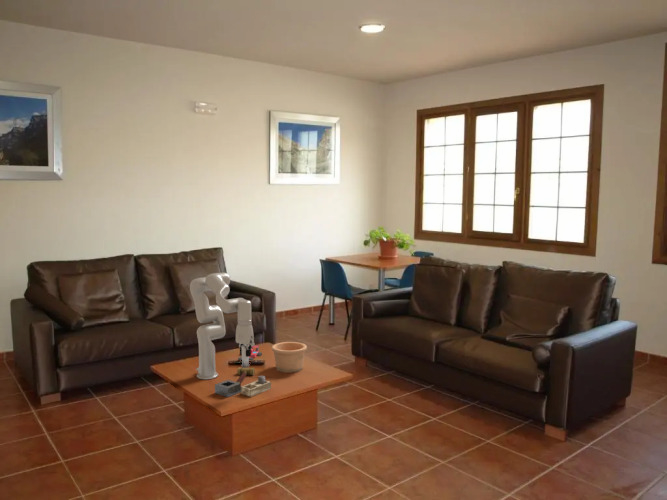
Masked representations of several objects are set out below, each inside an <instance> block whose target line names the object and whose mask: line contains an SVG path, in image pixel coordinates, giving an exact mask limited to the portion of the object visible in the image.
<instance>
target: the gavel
mask: <svg viewBox="0 0 667 500" xmlns="http://www.w3.org/2000/svg"><path fill="white" fill-rule="evenodd" d="M236 374H237V375H238V376H239V378H238V379H237V380H236V382H238V383H241V384H242V382H243V381H244V380H245V378H246V376H255V374H256V369H255V367H250V368H249V367H247V368H243V367H242V366H241V367H238V368H237V369H236Z"/></svg>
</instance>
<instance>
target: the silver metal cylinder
mask: <svg viewBox="0 0 667 500" xmlns="http://www.w3.org/2000/svg"><path fill="white" fill-rule="evenodd" d="M248 347H249V345H248ZM246 350H247V348H246V345H245V344H244V345H241V351H242V355H241V357H242V361H241V362H242V364H241V368H249V367H250V364H249V363H250V362H249V356H248V357H246Z"/></svg>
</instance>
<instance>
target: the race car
mask: <svg viewBox="0 0 667 500" xmlns="http://www.w3.org/2000/svg"><path fill="white" fill-rule="evenodd" d="M259 346H260V345H254V346H253V347H252V349H251V356H249V360H253V359H254V358H257V356H258V357H262V355H263V353H262V351H261V352H260V347H259ZM238 360H242V356H239V357H237V361H238Z"/></svg>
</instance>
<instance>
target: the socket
mask: <svg viewBox="0 0 667 500" xmlns="http://www.w3.org/2000/svg"><path fill="white" fill-rule="evenodd" d="M241 384H242V382H241V383H238V382H237V381H234V380H230V379H227V380H223V381H221V382H217V383H216V384H214V394H215V395H219V396H221V397H226V398H229V397H232V396H235V395H237V394H239V393H240V394H241V387H242V385H241Z"/></svg>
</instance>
